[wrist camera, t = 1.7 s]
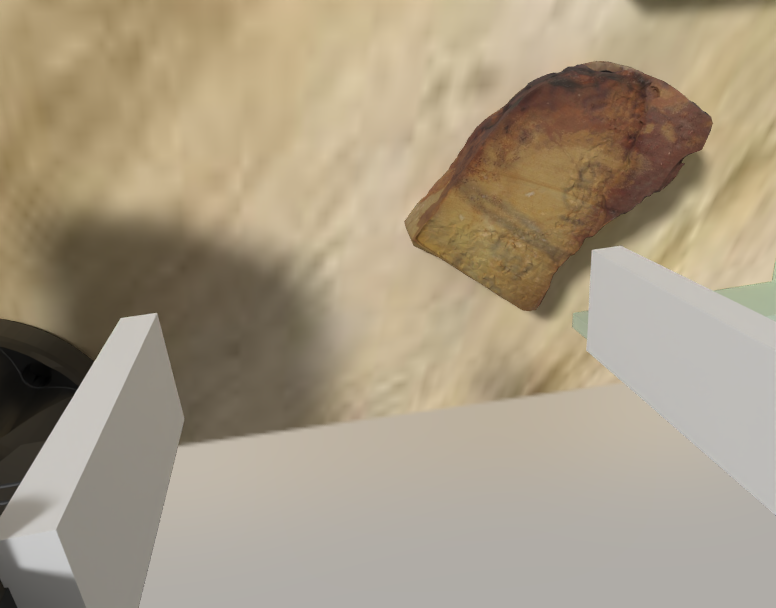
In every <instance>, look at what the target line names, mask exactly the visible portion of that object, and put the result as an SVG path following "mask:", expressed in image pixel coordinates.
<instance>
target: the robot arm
mask: <svg viewBox="0 0 776 608" xmlns="http://www.w3.org/2000/svg"><path fill="white" fill-rule="evenodd" d="M587 351H588V352H589V353H590V354H591V355H592V356H593V357H594V358H596V359H597V360H598V361H599V362H600V363H601V364H602V365H604V366H605V367H606V368H607V369H608V370H609V371H611V372H612V373H613V374H614V375H615V376H616V377H617V378H619V379H620V380H621V381H622V382H623V383H624V384H625V385H627V386H628V387H629V388H630V389H631V390H632V391H634V392H635V393H636V394H637V395H638V396H639V397H640V398H642V399H643V400H644V401H645V402H646V403H647V404H648V405H650V406H651V407H652V408H653V409H654V410H655V411H656V412H658V413H659V414H660V415H661V416H662V417H663V418H665V419H666V420H667V421H668V422H669V423H670V424H671V425H672V426H674V427H675V428H676V429H677V430H678V431H679V432H680V433H682V434H683V435H684V436H685V437H686V438H687V439H688V440H690V441H691V442H692V443H693V444H694V445H695V446H697V447H698V448H699V449H700V450H701V451H702V452H704V453H705V454H706V455H707V456H708V457H709V458H710V459H711V460H713V461H714V462H715V463H716V464H717V465H718V466H720V467H721V468H722V469H723V470H724V471H726V473H728V474H729V475H730V476H731V477H732V478H733V479H734V480H735V481H737V482H738V483H739V484H740V485H741V486H742V487H744V488H745V489H746V490H747V491H748V492H749V493H750V494H752V495H753V496H754V497H755V498H756V499H757V500H758V501H760V502H761V503H762V504H763V505H764V506H765V507H767V508H768V509H769V510H770V511H771V512H772V513H773V514H774V515H776V321H774V320H772V319H769V318H767V317H765V316H763V315H761V314H759V313H757V312H755V311H753V310H751V309H749V308H747V307H745V306H743V305H741V304H739V303H737V302H735V301H733V300H731V299H729V298H727V297H725V296H722V295H720V294H718V293H716V292H714V291H712V290H710V289H708V288H706V287H704V286H702V285H700V284H698V283H696V282H694V281H692V280H690V279H688V278H686V277H684V276H682V275H680V274H678V273H675V272H673V271H671V270H669V269H667V268H665V267H663V266H661V265H659V264H657V263H655V262H653V261H651V260H649V259H647V258H645V257H643V256H641V255H639V254H637V253H635V252H633V251H631V250H628V249H626V248H624V247H622V246H615V247H608V248H602V249H595V250H592V255H591V275H590V294H589V313H588V332H587ZM183 424H184V415H183V411H182V407H181V403H180V400H179V396H178V392H177V388H176V384H175V380H174V376H173V372H172V368H171V364H170V361H169V357H168V353H167V349H166V345H165V341H164V337H163V333H162V329H161V325H160V322H159V318H158V314H157V313H152V314H145V315H138V316H131V317H125V318H120V320H119V322H118V323H117V325H116V327H115V328H114V330H113V332H112V333H111V335H110V337H109V338H108V340H107V341H106V343H105V345H104V346H103V348H102V350H101V351H100V353H99V355H98V356H97V358H96V360H95V361H94V362H93V361H92V360H91V359H90V358H89V357H87V356H86V355H85V354H84V353H82V352H81V351H79V350H78V349H77V348H75V347H73V346H72V345H70V344H69V343H67V342H65V341H63V340H61V339H60V338H58V337H56V336H54V335H51V334H49V333H47V332H44V331H42V330H39V329H37V328H34V327H31V326H28V325H25V324H21V323H17V322H13V321H8V320H3V319H0V608H139V604H140V600H141V595H142V591H143V587H144V583H145V579H146V575H147V571H148V567H149V562H150V559H151V555H152V550H153V546H154V542H155V538H156V534H157V530H158V526H159V522H160V518H161V514H162V510H163V505H164V501H165V497H166V493H167V489H168V485H169V481H170V477H171V473H172V469H173V464H174V460H175V456H176V452H177V448H178V444H179V440H180V436H181V432H182V428H183Z"/></svg>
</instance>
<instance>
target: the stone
mask: <svg viewBox="0 0 776 608" xmlns="http://www.w3.org/2000/svg"><path fill="white" fill-rule="evenodd" d="M712 124H713V123H712V119H711V117H710V116H709V115H708V114H707V113H706V112H704V111H702V110H701V109H700V108H699V107H698V106H697V105H696V104H695V103H694V102H691V101H689V100H688V99H687V98H686V97H685V96H684V95H683V94H682V93H680V92H679V91H678V90H676V89H675V88H673V87H672V86H671V85H669V84H667V83H666V82H664V81H662V80H659V79H657V78H654V77H652V76H649V75H646V74H644V73H643V72H640V71H638V70H636V69H634V68H631V67H628V66H623V65H619V64H615V63H611V62H605V61H595V62H590V63H585V64H581V65H576V66H574V67H567V68H566V69H564V70H563V71H562V72H559V73H550V74H547V75H545V76H542V77H540V78H538V79H535V80H533V81H532V82H530V83H528V85H527V86H526V87H525V88H524V89H522V90H521V91H519V92H518V93H517V94H516V95H515V96H514V97H513V98H512V99H511V100H510V101H509V102H508V103H507V104H506V105H505V106H504V107H502V108H501V109H500V110H498V111H497V112H495V113H494V114H492V115H490V116H489V117H488V118H487V119H485V120H484V121H483V122H482V123H481V124H480V125H479V126H478V127H476V129H475V130H474V132H473V133H472V134H471V136H470V137H469V138H468V140H467V142H466V144H465V146H464V147H463V149H462V150H461V151H460V153H459V154H458V157H457V158H456V159H455V161H454V162H453V163H452V164H451V166H450V168H449V170H448V171H447V172H446V173H445V174H444V175H443V176H442V177H441V178H440V179H439V180H438V181H437V182H436V183H435V184H434V186H433V187H432V188H431V189H430V191H429V193H428V194H427V195H426V196H425V197H424V198H422V199H421V200H420V201H419V202H418V203H417V205H416V206H415V208H414V209H413V210H412V212H411V213H410V214H409V216H408V217H407V219H406V220H405V226H406V229H407V231H408V234H409V236H410V238H411V241H412V243H413V245H414V246H415V247H418V248H420V249H422V250H424V251H426V252H428V253H431V254H433V255H435V256H437V257H439V258H441V259H442V260H444V261H445V262H447V263H449V264H450V265H452V266H453V267H455V268H456V269H458V270H460V271H461V272H463V273H464V274H466V275H467V276H469V277H470V278H472V279H474V280H476V281H477V282H479V283H481V284H482V285H483V286H485V287H487V288H488V289H490V290H491V291H493V292H494V293H496V294H497V295H499V296H500V297H502V298H504V299H505V300H507V301H509V302H510V303H512V304H514V305H515V306H517V307H518V308H520V309H522V310H524V311H532V310H536V309H537V308H538V306H539V305H540V303H541V302H542V300H543V298H544V296H545V294H546V292H547V290H548V289H549V287H550V283H551V280H552V277H553V275H554V273H555V272H556V271H557V269H558V268H559V266H561V265H562V264H563V263H564V262H565V261H566V260H567V259H568V258H569V257H570V256H571V255H574V254H575V253H576V252H577V251H578V250H579V249H580V247H581V245H582V244H583V242H584V240H585V238H587V237H593V236H594V235H595V234H596V233H597V232H598V231H599V230H600V229H601V228H602V227H603V226H605V225H606V224H607V223H609V222H610V221H612V220H613V219H615V218H616V217H618V216H619V215H621V214H625V213H627V212H628V211H630V210H632V209H633V208H634V207H635V206H636V205H637V204H639V203H641V202H642V201H643V199H644V198H645V197H648V196H651V195H652V194H653V193H655V192H660V191H661V190H662V189H664V188H665V187H666V186H667V185H668V184H669V183H670V182H671V181H672V180H673V179H674V178H675V177H676V176H677V174H678V172H679V170H680V169H681V167H682V166H683V165H684V163H681V162H682V160H683V159H684V158H685V157H686V156H687V155H689V154H692V153H694V152H697V151H700V150H702V148H703V146H704V144H705V142H706V140H707V138H708V135H709V133H710V131H711V127H712Z"/></svg>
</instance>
